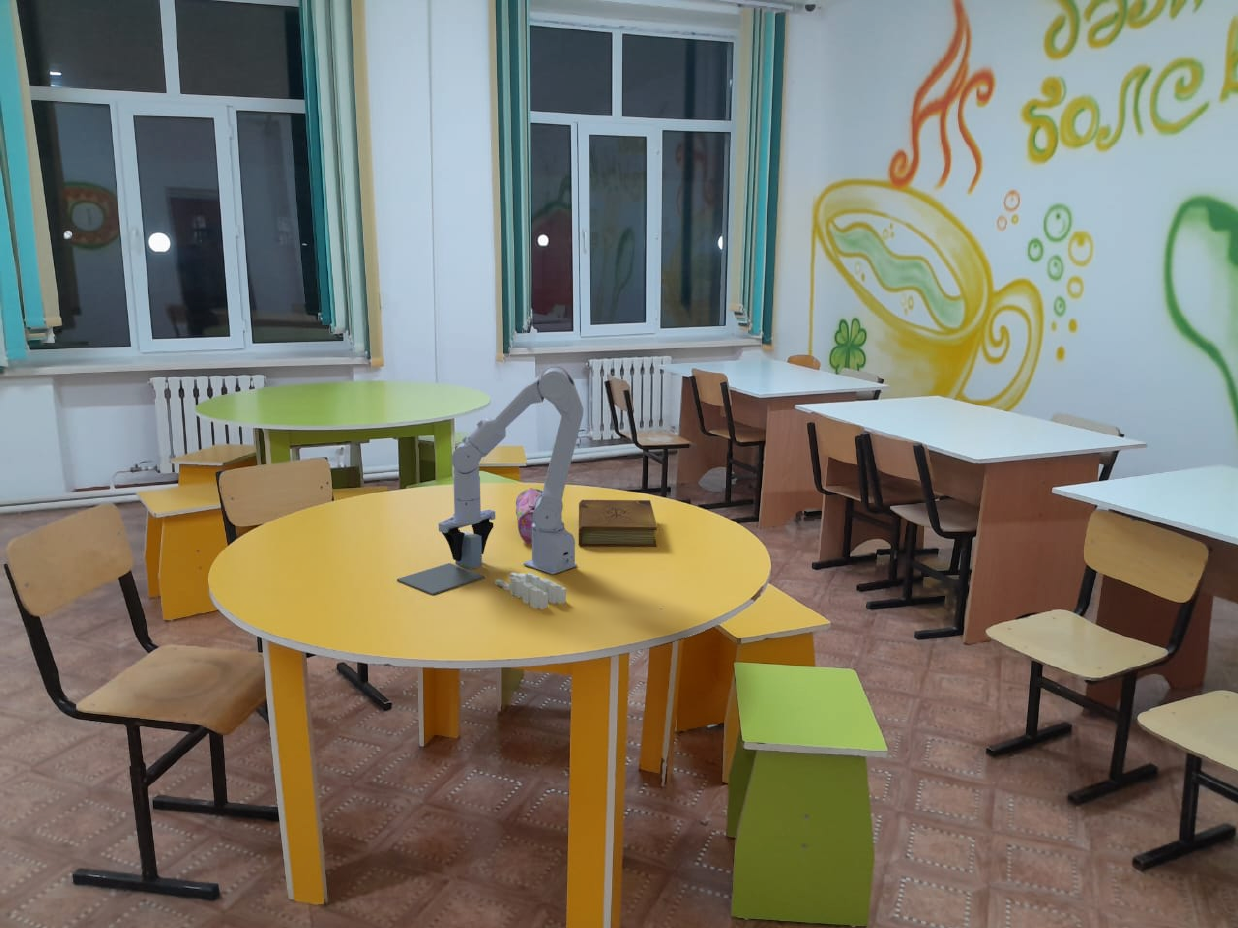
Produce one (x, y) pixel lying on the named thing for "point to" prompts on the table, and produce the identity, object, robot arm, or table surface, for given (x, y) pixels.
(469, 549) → the block
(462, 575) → the mat
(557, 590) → the modular blocks
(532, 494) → the pencil case
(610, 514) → the diary
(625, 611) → the table surface
